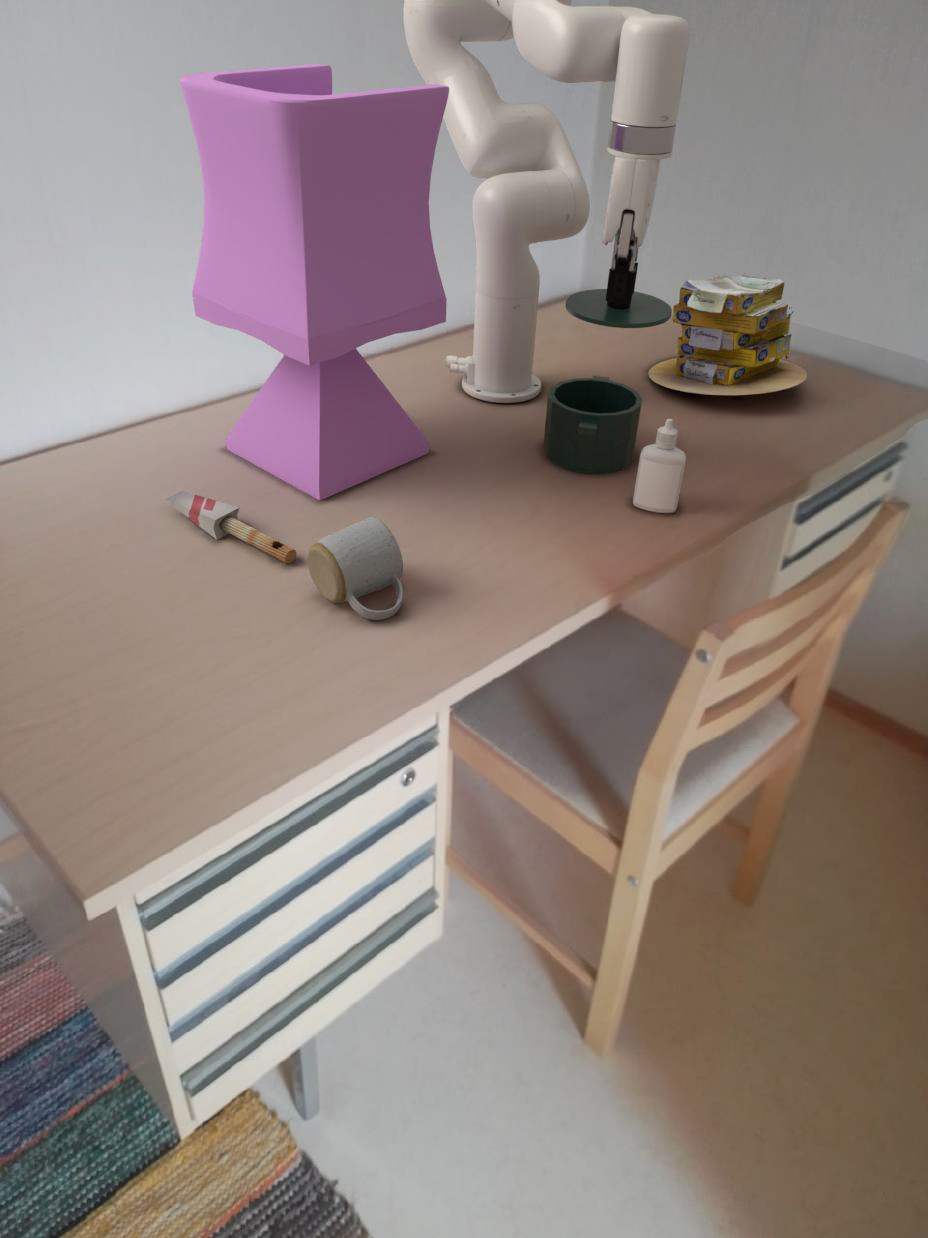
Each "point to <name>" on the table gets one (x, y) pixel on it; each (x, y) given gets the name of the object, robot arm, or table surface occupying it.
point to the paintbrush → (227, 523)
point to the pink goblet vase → (317, 258)
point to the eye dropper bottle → (660, 473)
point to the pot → (591, 425)
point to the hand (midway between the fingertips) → (619, 296)
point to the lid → (618, 309)
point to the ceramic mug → (357, 565)
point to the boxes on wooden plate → (731, 339)
